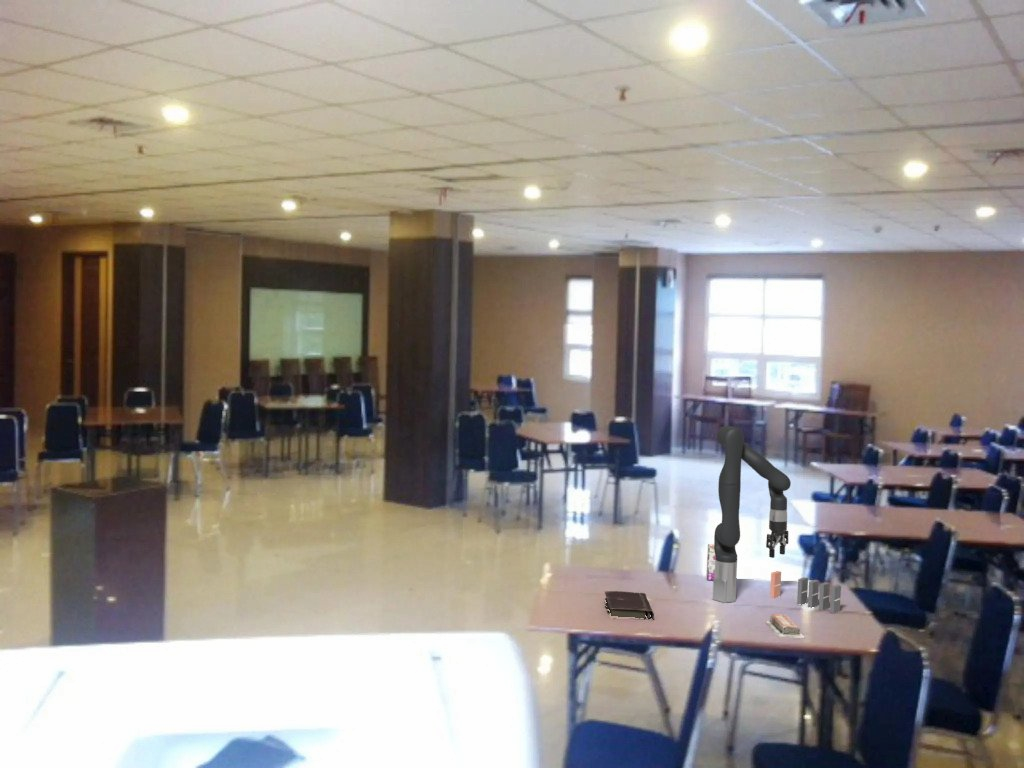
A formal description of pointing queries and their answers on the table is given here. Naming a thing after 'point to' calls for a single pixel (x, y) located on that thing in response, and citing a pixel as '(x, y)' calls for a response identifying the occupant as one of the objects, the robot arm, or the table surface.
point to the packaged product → (783, 626)
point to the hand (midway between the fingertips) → (777, 555)
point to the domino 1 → (775, 584)
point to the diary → (628, 604)
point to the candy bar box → (710, 563)
